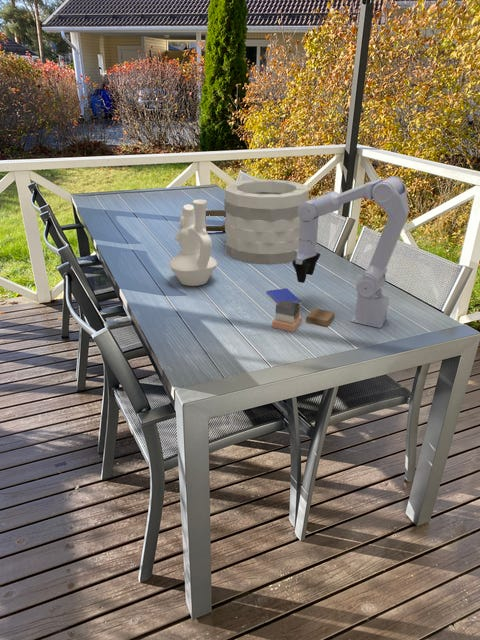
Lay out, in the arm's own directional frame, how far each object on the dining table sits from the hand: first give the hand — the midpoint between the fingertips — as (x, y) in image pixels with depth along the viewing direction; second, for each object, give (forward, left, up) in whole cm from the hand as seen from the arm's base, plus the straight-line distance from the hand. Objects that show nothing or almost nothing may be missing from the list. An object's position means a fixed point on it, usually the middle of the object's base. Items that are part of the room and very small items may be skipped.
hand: (305, 278), depth 165 cm
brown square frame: (+75, -67, -10) cm, 101 cm away
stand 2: (-9, +9, -9) cm, 16 cm away
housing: (-1, +17, -7) cm, 19 cm away
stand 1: (-1, +17, -9) cm, 19 cm away
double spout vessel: (+42, +2, -10) cm, 43 cm away
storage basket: (+35, -44, -10) cm, 57 cm away
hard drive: (+8, -1, -10) cm, 13 cm away
